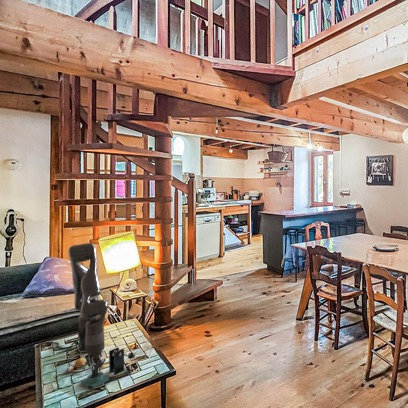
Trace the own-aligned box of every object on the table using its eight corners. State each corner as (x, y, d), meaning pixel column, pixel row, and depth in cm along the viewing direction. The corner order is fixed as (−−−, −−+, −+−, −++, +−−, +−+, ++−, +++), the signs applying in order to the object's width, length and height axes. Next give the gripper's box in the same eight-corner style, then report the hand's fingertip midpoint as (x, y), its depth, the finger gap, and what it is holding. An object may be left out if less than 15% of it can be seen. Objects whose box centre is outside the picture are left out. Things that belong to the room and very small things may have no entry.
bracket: (118, 367, 169) (118, 344, 169) (130, 372, 165) (130, 348, 165) (102, 375, 162) (102, 351, 161) (114, 380, 158) (114, 355, 157)
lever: (130, 358, 171) (133, 352, 173) (134, 359, 170) (137, 353, 172) (110, 355, 162) (113, 349, 163) (114, 357, 161) (117, 350, 162)
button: (88, 380, 154) (88, 376, 154) (97, 376, 158) (97, 372, 157) (93, 381, 153) (93, 378, 153) (101, 377, 156) (101, 374, 156)
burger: (101, 363, 173) (101, 350, 173) (83, 376, 161) (83, 361, 161) (80, 362, 173) (79, 349, 173) (60, 375, 161) (60, 360, 161)
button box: (81, 384, 154) (81, 377, 154) (96, 377, 160) (96, 369, 160) (93, 390, 150) (93, 382, 150) (109, 382, 157) (109, 374, 156)
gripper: (78, 341, 153) (78, 376, 154) (94, 347, 148) (94, 383, 149) (95, 335, 160) (95, 368, 161) (111, 340, 155) (111, 375, 156)
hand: (95, 375), depth 155 cm, fingers closed
